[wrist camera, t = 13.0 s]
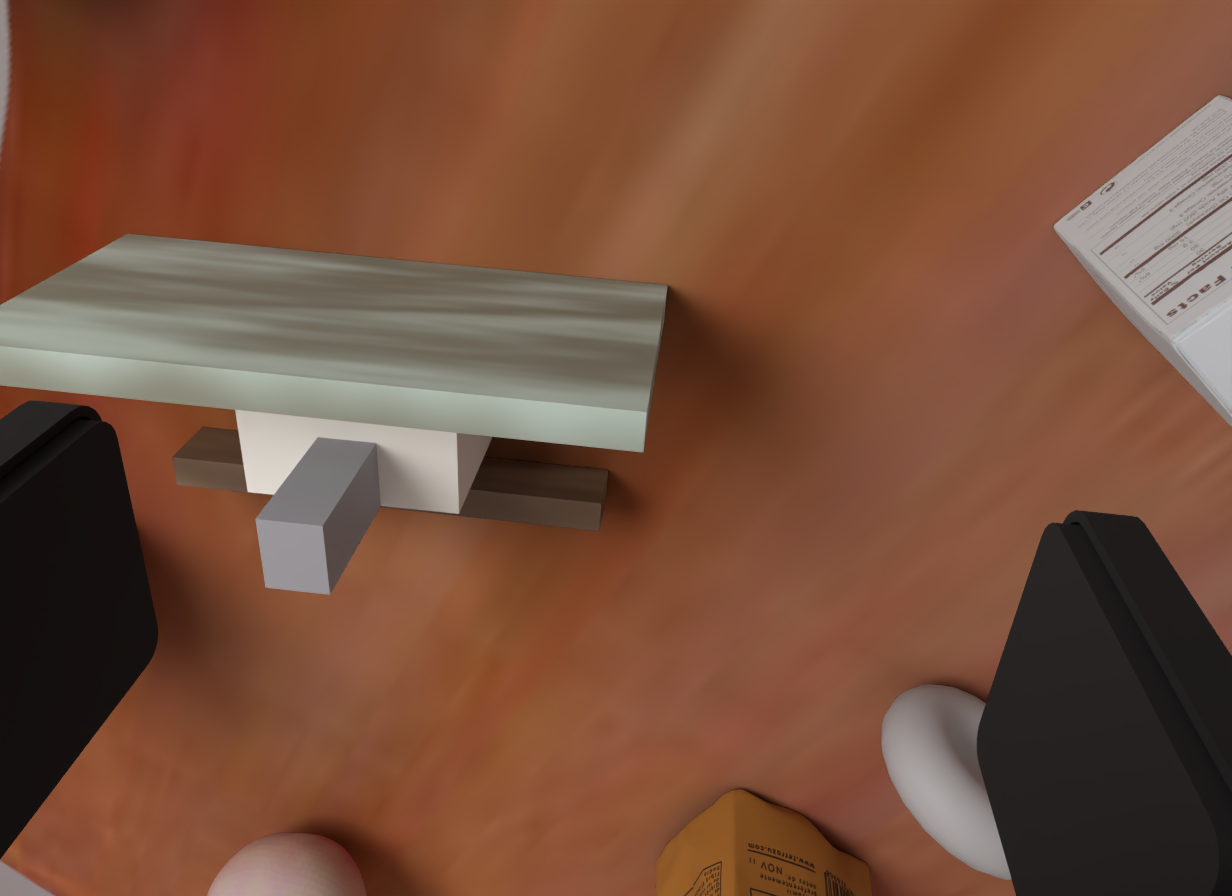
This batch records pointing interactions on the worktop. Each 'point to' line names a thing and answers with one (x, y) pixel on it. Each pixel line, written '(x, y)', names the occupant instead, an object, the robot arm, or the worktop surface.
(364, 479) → the white block gray post
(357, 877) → the decorative fruit
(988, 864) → the donut
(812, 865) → the coffee package
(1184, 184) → the supplement box
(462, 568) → the worktop surface
